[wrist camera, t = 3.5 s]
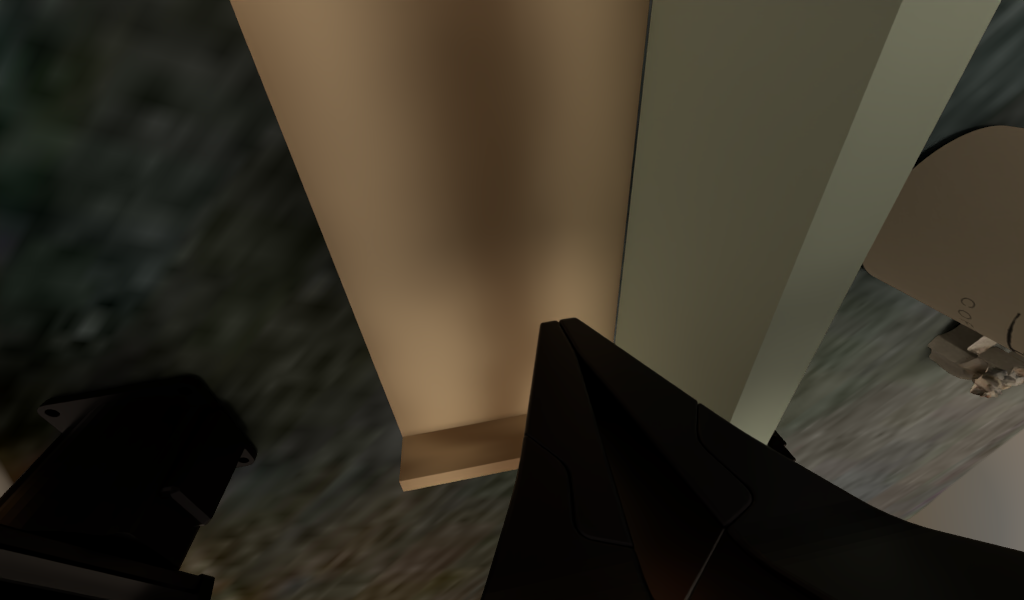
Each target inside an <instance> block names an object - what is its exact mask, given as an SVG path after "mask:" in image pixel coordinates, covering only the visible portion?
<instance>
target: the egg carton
mask: <svg viewBox="0 0 1024 600" xmlns="http://www.w3.org/2000/svg"><path fill="white" fill-rule="evenodd" d="M995 344H997V342H995V341H993V340H991V339H989V338H987V337H985V336H983V335H982V334H980V333H978V332H976V331H974V330H972V329H970V328H969V327H967V326H965V325H963V324H960V325H959V326H958V327H956V328H955V329H953V330H951V331H949V332H947V333H945V334H941V335H938V336H936V337H935V338H934V339H933V340H932V341H931V342H930V343H929V344H928V347H929V348H931V350H932V351H931V354H930V356H929V358H930V359H932V360H933V361H934V362H936V363H937V364H938V365H939V366H940V367H942V368H943V369H944V370H946V371H947V372H948V373H950V374H952V375H954V376H956V377H958V378H961V379H967V380H970V379H972V382H973V383H974V385H973V386H972V388H971V390H970V393H973V394H976V395H981V396H979V397H987V398H991V396H994V397H997V396H998V394H1002V390H1001V389H1008V388H1010V387H1011V385H1012V386H1017V385H1019V384H1022V383H1024V357H1023V356H1021V355H1019V354H1017V353H1015V352H1013V351H1012V352H1010V353H1007V352H1005V351H1004V350H1002V349H1000V348H998V347H992V346H993V345H995Z"/></svg>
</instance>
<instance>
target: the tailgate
mask: <svg viewBox="0 0 1024 600" xmlns="http://www.w3.org/2000/svg"><path fill="white" fill-rule="evenodd" d="M1000 2H1001V0H653V2H652V11H651V20H650V29H649V38H648V47H647V56H646V65H645V74H644V84H643V93H642V102H641V111H640V120H639V129H638V138H637V147H636V156H635V165H634V175H633V184H632V193H631V202H630V211H629V220H628V229H627V238H626V247H625V256H624V265H623V275H622V284H621V293H620V302H619V311H618V320H617V329H616V338H615V344H616V345H617V346H619V347H620V348H621V349H623V350H624V351H626V352H627V353H629V354H630V355H632V356H633V357H635V358H636V359H637V360H639V361H640V362H642V363H643V364H645V365H646V366H648V367H649V368H651V369H652V370H653V371H655V372H656V373H658V374H659V375H661V376H662V377H664V378H665V379H667V380H668V381H669V382H671V383H672V384H674V385H675V386H677V387H678V388H680V389H681V390H683V391H684V392H685V393H687V394H688V395H690V396H691V397H693V398H694V399H696V400H697V402H698V403H702V404H703V405H705V406H706V407H708V408H709V409H710V410H712V411H713V412H715V413H716V414H718V415H719V416H721V417H722V418H724V419H725V420H727V421H728V422H730V423H731V424H733V425H734V426H736V427H738V428H739V429H741V430H742V431H744V432H745V433H747V434H749V435H750V436H752V437H754V438H755V439H757V440H758V441H760V442H762V443H763V444H765V445H767V444H768V442H769V440H770V438H771V436H772V434H773V432H774V430H775V429H776V427H777V425H778V423H779V421H780V419H781V417H782V415H783V413H784V411H785V410H786V408H787V406H788V404H789V402H790V400H791V398H792V396H793V394H794V392H795V391H796V389H797V387H798V385H799V383H800V381H801V379H802V377H803V375H804V374H805V372H806V370H807V368H808V366H809V364H810V362H811V360H812V358H813V356H814V355H815V353H816V351H817V349H818V347H819V345H820V343H821V341H822V339H823V337H824V336H825V334H826V332H827V330H828V328H829V326H830V324H831V322H832V320H833V318H834V317H835V315H836V313H837V311H838V309H839V307H840V305H841V303H842V301H843V300H844V298H845V296H846V294H847V292H848V290H849V288H850V286H851V284H852V282H853V281H854V279H855V277H856V275H857V273H858V271H859V269H860V267H861V265H862V263H863V262H864V260H865V258H866V256H867V254H868V252H869V250H870V248H871V246H872V245H873V243H874V241H875V239H876V237H877V235H878V233H879V231H880V229H881V227H882V226H883V224H884V222H885V220H886V218H887V216H888V214H889V212H890V210H891V208H892V207H893V205H894V203H895V201H896V199H897V197H898V195H899V193H900V191H901V189H902V188H903V186H904V184H905V182H906V180H907V178H908V176H909V174H910V172H911V171H912V169H913V167H914V165H915V163H916V161H917V159H918V157H919V155H920V153H921V152H922V150H923V148H924V146H925V144H926V142H927V140H928V138H929V136H930V134H931V133H932V131H933V129H934V127H935V125H936V123H937V121H938V119H939V117H940V116H941V114H942V112H943V110H944V108H945V106H946V104H947V102H948V100H949V98H950V97H951V95H952V93H953V91H954V89H955V87H956V85H957V83H958V81H959V79H960V78H961V76H962V74H963V72H964V70H965V68H966V66H967V64H968V62H969V60H970V59H971V57H972V55H973V53H974V51H975V49H976V47H977V45H978V43H979V42H980V40H981V38H982V36H983V34H984V32H985V30H986V28H987V26H988V24H989V23H990V21H991V19H992V17H993V15H994V13H995V11H996V9H997V7H998V5H999V4H1000Z"/></svg>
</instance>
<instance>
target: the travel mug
mask: <svg viewBox="0 0 1024 600" xmlns="http://www.w3.org/2000/svg"><path fill="white" fill-rule="evenodd" d="M863 266H864V268H865V269H866V271H867V272H868V273H869V274H871V275H872V276H874V277H876V278H877V279H879V280H881V281H883V282H885V283H887V284H889V285H890V286H892V287H894V288H896V289H898V290H900V291H902V292H903V293H905V294H907V295H909V296H911V297H913V298H915V299H916V300H918V301H920V302H922V303H924V304H926V305H928V306H930V307H931V308H933V309H935V310H937V311H939V312H941V313H943V314H944V315H946V316H948V317H950V318H952V319H954V320H956V321H957V322H959V323H961V324H963V325H965V326H967V327H969V328H970V329H972V330H974V331H976V332H978V333H980V334H982V335H983V336H985V337H987V338H989V339H991V340H993V341H995V342H997V343H998V344H1000V345H1002V346H1004V347H1006V348H1008V349H1010V350H1011V351H1013V352H1015V353H1017V354H1019V355H1021V356H1023V357H1024V128H1018V127H1011V126H990V127H986V128H982V129H978V130H975V131H972V132H970V133H968V134H965V135H963V136H961V137H959V138H957V139H955V140H953V141H951V142H949V143H948V144H946V145H944V146H943V147H941V148H940V149H938V150H937V151H935V152H934V153H932V154H931V155H930V156H928V157H927V158H926V159H924V160H923V161H922V162H921V163H919V164H918V165H917V166H916V167H915V168H914V169H912V171H911V172H910V174H909V176H908V178H907V180H906V182H905V184H904V186H903V188H902V189H901V191H900V193H899V195H898V197H897V199H896V201H895V203H894V205H893V207H892V208H891V210H890V212H889V214H888V216H887V218H886V220H885V222H884V224H883V226H882V227H881V229H880V231H879V233H878V235H877V237H876V239H875V241H874V243H873V245H872V246H871V248H870V250H869V252H868V254H867V256H866V258H865V260H864V262H863Z"/></svg>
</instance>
